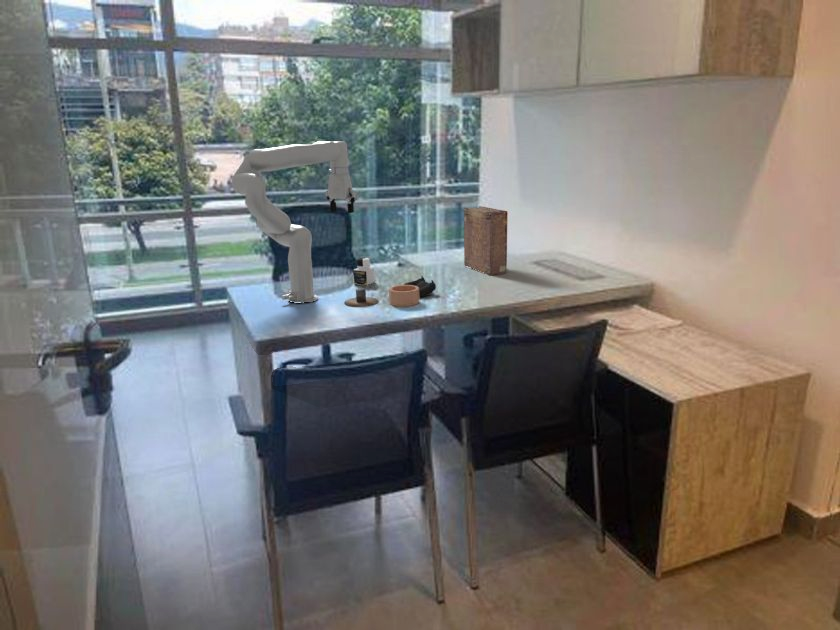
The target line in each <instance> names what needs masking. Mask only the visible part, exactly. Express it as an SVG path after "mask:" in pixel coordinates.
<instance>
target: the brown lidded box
mask: <svg viewBox="0 0 840 630" xmlns="http://www.w3.org/2000/svg"><path fill="white" fill-rule="evenodd" d="M508 214H509V213H508V211H507V210H503V209H497V208H493V207H488V206H482V205H480V206H478V207H470V208H469V207H463V243H464V244H463V247H464V248H463V249H464V251H463V252H464V255H463V256H464V257H463V258H464V259H463V261H464V265H465V266H468V267H471V268H474V269H476V270H479V271H481V272H480V273H482V272H484V273H483V274H485V273H486V274H485V275H487V274H489V275H488V276H495V274H497V275H502V274H501V273H504V274H507V271H508V267H507V265H508V263H507V261H508V255H507V254H508ZM464 265H463V266H464ZM465 266H464V267H465ZM476 270H475V271H476ZM479 271H478V272H479Z"/></svg>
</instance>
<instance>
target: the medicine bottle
mask: <svg viewBox="0 0 840 630" xmlns="http://www.w3.org/2000/svg"><path fill="white" fill-rule="evenodd" d="M356 267H357V268H354V269H353V270H352V271H353V284H354V285H355V284H357V286H364V285H367V286H369V285H368V284H370V285H371V283H372V284H374V283H375V282H376V281H375V280H376V279H375V276H376V275H375V267H373V266H371V260H370V258H368V257H365V256H364V257H358V258H357V259H356ZM373 282H374V283H373Z"/></svg>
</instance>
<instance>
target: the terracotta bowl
mask: <svg viewBox="0 0 840 630" xmlns="http://www.w3.org/2000/svg"><path fill="white" fill-rule="evenodd" d="M420 299H421V298H419V287H417V286H414V285H404V284H400V285H399V284H398V285H394V286H390V287H389V288H388V302H389V304H390V305H391V306H393V307H400V308H402V307H413V306H416V305H418V304H420Z"/></svg>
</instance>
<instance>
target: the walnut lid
mask: <svg viewBox="0 0 840 630" xmlns="http://www.w3.org/2000/svg"><path fill="white" fill-rule="evenodd" d="M366 291H367V289H366V288H356V289H355V294H356V295H355V296H356V297H351V298H348V299H346V300H344V301H343V303H344V305H345V306H347V307H352V308H366V307H372V306H374V305H377V304H379V299H377V298H376V297H369V296H367V292H366Z"/></svg>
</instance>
